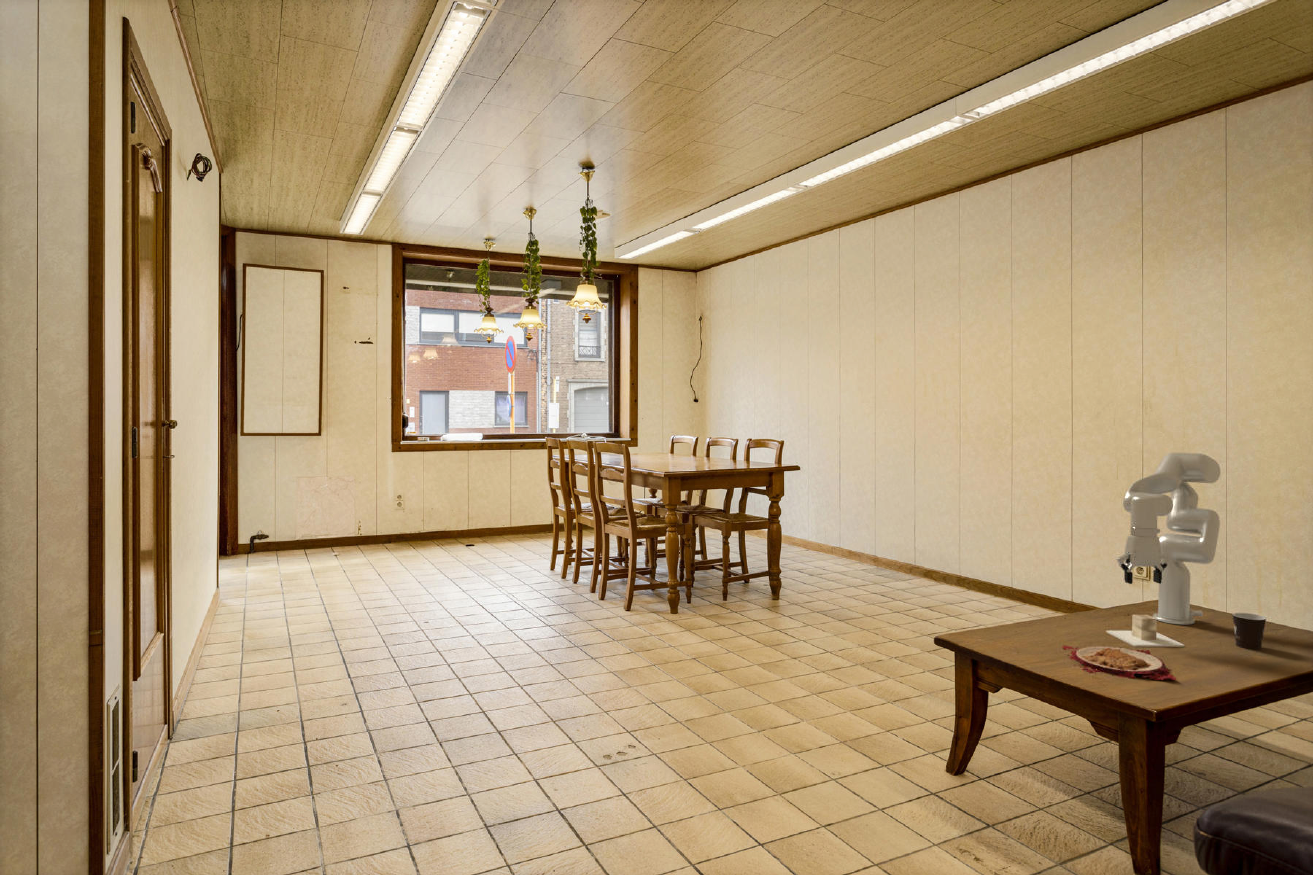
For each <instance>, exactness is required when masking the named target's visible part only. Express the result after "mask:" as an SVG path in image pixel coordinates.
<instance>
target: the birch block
mask: <svg viewBox="0 0 1313 875" xmlns="http://www.w3.org/2000/svg"><path fill="white" fill-rule="evenodd" d="M1131 620H1132V621H1131V623H1132V624H1131V631H1132V636H1134V637H1137V638H1139V639H1141V640H1156V632H1157V624H1158V622H1157V621H1158V620H1157V619H1156V618H1153V616H1151V615H1148V614H1132V618H1131Z"/></svg>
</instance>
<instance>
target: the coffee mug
mask: <svg viewBox="0 0 1313 875" xmlns="http://www.w3.org/2000/svg"><path fill="white" fill-rule="evenodd" d="M1232 620H1233V629H1234V637H1235V646H1236V647H1239V648H1241V649H1246V650H1251V651H1252V650H1253V651H1254V650H1255V651H1256V650H1257V651H1258V650H1261V649H1262V644H1263V638H1264V633H1265V627H1266V621H1267V618H1266V617H1265V616H1263V615H1260V614H1256V613H1248V612H1233V613H1232Z"/></svg>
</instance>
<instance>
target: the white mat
mask: <svg viewBox="0 0 1313 875" xmlns="http://www.w3.org/2000/svg"><path fill="white" fill-rule="evenodd" d="M1106 633H1107V634H1109V635H1111V636H1113V637H1115V638H1117V639H1119V640H1121V641H1123V642H1125V643H1127V644H1129V645H1131V646H1132V647H1135V648H1138V647H1140V648H1141V647H1142V648H1144V647H1148V648H1149V647H1157V648H1158V647H1163V648H1164V647H1165V648H1166V647H1168V648H1169V647H1171V648H1172V647H1176V648H1177V647H1181V648H1183V647H1185V644H1183V643H1181V642H1179V641H1177V640H1174V639H1172V638H1170V637H1168V636H1166V635H1163V634H1162V633H1159V632H1157V631H1156V640H1141V639H1139V638H1137V637H1134V636H1132V630H1106Z"/></svg>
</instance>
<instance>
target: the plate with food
mask: <svg viewBox="0 0 1313 875" xmlns="http://www.w3.org/2000/svg"><path fill="white" fill-rule="evenodd" d="M1078 646H1079V645H1078ZM1062 648H1063V650H1065V651H1067V650H1071V651H1070V653H1069V654H1070V656H1069V654H1066V655H1067V656H1068V657H1069V659H1071V660H1073V661H1077V662H1079V663H1078V666H1080V667H1079V668H1081V669H1082V671H1085V672H1086V673H1087V672H1089V673H1088V674H1096V673H1097V672H1101V673H1100V674H1107V673H1108V672H1109V673H1108V674H1111V676H1113V677H1119V678H1130V679H1136V676H1135V674H1142V675H1141V678H1148V677H1149V679H1150V680H1153V681H1155V680H1156V681H1159V680H1161V681H1163V680H1171V681H1175V680H1177V677H1175V676H1174V675H1173V674H1171V673H1170V671H1171V672H1172V669H1169V668H1167V666H1166V664H1165V663H1164V661H1163V660H1162V659H1160V658H1159V657H1157V656H1156V655H1152V654H1151V652H1150V650H1148V649H1146V651H1145V650H1144V649H1142V650H1139V649H1136V650H1133V649H1129V648H1124V647H1118V646H1117V647H1116V646H1114V647H1112V646H1106V645H1096V646H1095V645H1093V646H1086V647H1083V648H1079V647H1073V646H1070V645H1069V646H1068V645H1062ZM1082 665H1083V666H1085V667H1083V666H1082ZM1076 666H1077V665H1076V664H1074V667H1076ZM1078 666H1077V667H1078ZM1081 666H1082V667H1081ZM1086 666H1087V667H1090V668H1087V667H1086ZM1092 669H1093V670H1092ZM1096 669H1097V670H1096ZM1094 672H1095V673H1094Z"/></svg>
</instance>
